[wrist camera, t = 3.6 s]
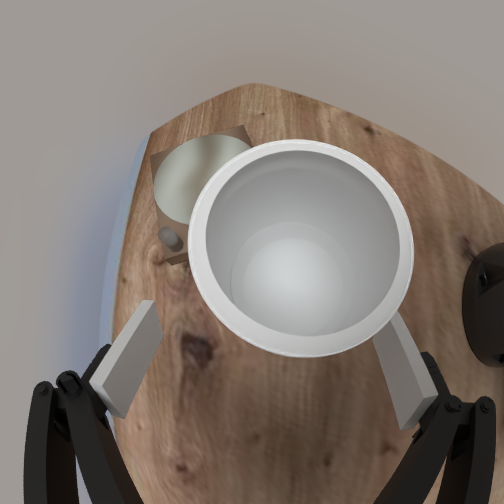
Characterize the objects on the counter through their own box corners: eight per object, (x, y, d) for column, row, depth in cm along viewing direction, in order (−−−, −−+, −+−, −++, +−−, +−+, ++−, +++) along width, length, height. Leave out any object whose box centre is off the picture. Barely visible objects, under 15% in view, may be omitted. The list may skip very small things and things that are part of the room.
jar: (220, 265, 27) (163, 180, 13) (314, 227, 27) (343, 119, 13) (260, 367, 23) (237, 399, 9) (360, 322, 24) (451, 290, 10)
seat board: (244, 135, 32) (240, 107, 28) (283, 229, 28) (283, 206, 23) (155, 165, 32) (140, 140, 27) (171, 265, 27) (151, 248, 23)
